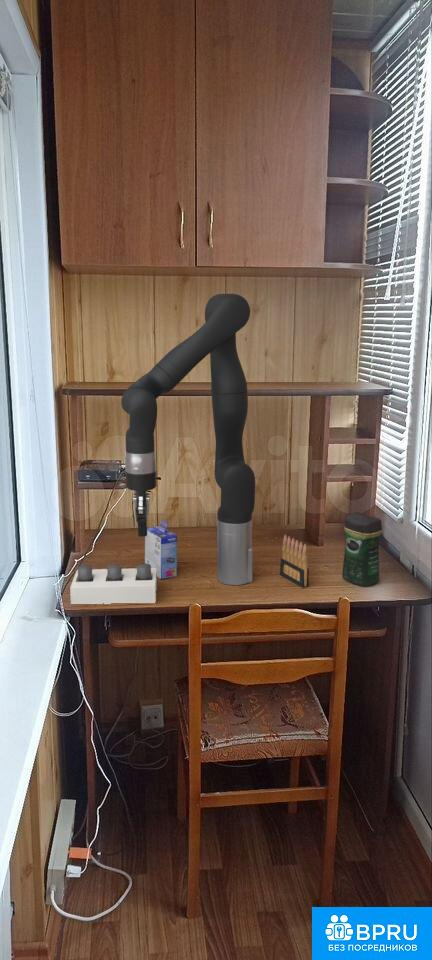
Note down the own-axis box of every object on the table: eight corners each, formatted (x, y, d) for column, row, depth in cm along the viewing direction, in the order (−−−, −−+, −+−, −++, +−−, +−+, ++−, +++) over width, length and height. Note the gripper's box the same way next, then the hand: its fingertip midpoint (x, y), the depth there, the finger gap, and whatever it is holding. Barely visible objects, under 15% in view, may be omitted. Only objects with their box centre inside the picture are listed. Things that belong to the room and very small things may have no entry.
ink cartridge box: (178, 576, 195) (177, 526, 191) (161, 580, 192) (159, 530, 188) (161, 565, 203) (160, 517, 199) (144, 569, 200) (142, 520, 196)
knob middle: (122, 578, 183) (121, 563, 182) (121, 583, 179) (120, 569, 178) (108, 578, 183) (107, 564, 182) (107, 584, 179) (106, 569, 178)
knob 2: (151, 577, 183) (151, 563, 182) (151, 583, 180) (150, 568, 179) (137, 578, 183) (137, 563, 182) (136, 583, 180) (136, 568, 179)
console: (157, 585, 188) (156, 567, 187) (155, 604, 177) (155, 585, 176) (77, 587, 187) (76, 569, 186) (71, 606, 176) (70, 588, 175)
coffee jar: (384, 582, 190) (388, 516, 185) (364, 589, 185) (367, 522, 180) (357, 571, 197) (360, 508, 193) (337, 578, 193) (339, 513, 188)
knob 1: (93, 579, 183) (92, 564, 182) (91, 584, 179) (91, 569, 178) (79, 579, 182) (78, 564, 181) (77, 584, 179) (76, 570, 178)
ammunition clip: (308, 586, 187) (310, 544, 184) (303, 588, 186) (304, 545, 183) (285, 573, 196) (286, 532, 193) (279, 574, 195) (280, 533, 192)
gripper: (155, 475, 168) (156, 544, 172) (156, 462, 181) (158, 527, 185) (123, 476, 167) (126, 545, 172) (127, 463, 180) (129, 527, 185)
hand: (142, 535), depth 178 cm, fingers closed
